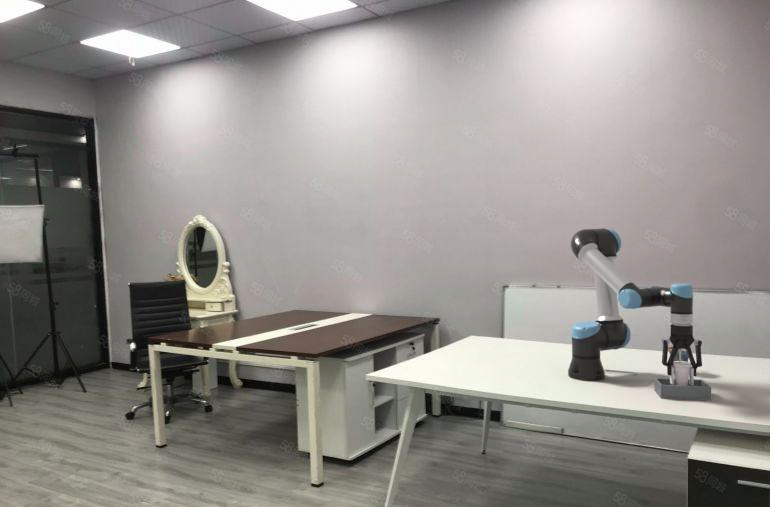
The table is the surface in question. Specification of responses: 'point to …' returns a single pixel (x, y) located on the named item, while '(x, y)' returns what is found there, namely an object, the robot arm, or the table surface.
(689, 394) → the tray
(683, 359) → the mug
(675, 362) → the smoothie
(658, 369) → the table surface
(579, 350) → the robot arm
